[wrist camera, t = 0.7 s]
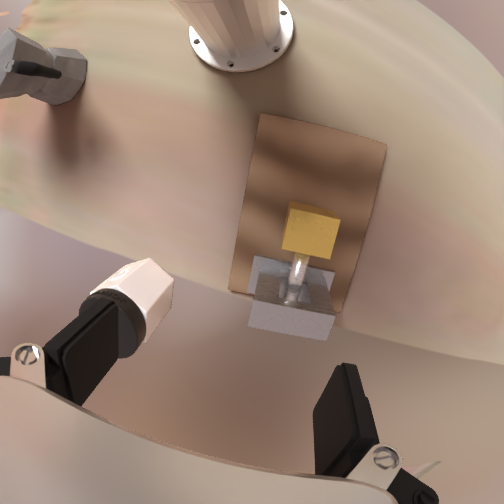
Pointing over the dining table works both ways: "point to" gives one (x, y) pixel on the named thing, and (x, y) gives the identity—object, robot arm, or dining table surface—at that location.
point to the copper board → (306, 194)
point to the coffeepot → (39, 69)
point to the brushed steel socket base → (290, 311)
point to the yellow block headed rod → (307, 240)
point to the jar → (136, 301)
